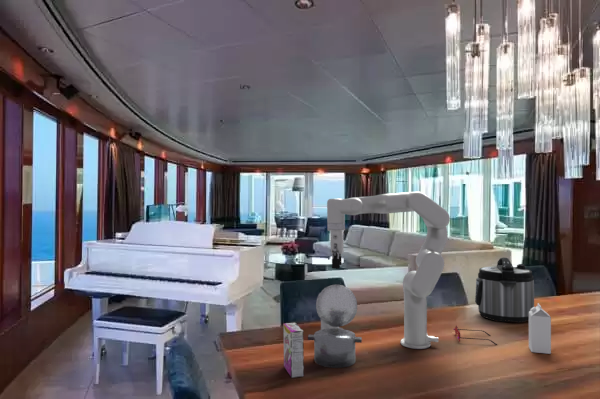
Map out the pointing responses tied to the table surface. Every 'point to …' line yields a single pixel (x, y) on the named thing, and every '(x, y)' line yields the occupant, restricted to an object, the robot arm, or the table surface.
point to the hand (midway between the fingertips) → (336, 266)
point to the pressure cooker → (505, 292)
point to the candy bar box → (293, 349)
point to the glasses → (469, 338)
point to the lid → (336, 305)
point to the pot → (334, 347)
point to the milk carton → (539, 330)
